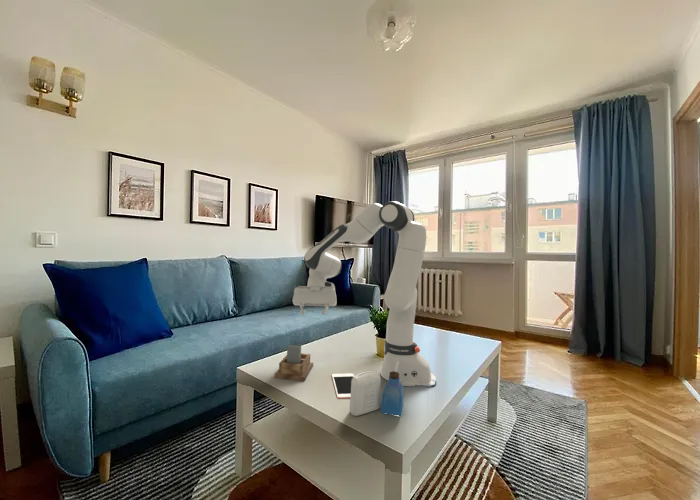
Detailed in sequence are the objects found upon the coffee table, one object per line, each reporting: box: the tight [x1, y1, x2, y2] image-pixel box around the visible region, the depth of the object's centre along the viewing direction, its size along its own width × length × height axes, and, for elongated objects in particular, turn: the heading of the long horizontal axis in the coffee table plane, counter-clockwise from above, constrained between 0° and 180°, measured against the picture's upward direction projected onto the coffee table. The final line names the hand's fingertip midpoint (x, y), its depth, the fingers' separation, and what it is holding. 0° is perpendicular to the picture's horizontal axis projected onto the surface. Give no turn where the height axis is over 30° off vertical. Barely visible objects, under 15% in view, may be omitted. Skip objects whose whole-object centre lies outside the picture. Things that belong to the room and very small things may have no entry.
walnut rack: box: [274, 352, 314, 382], centre depth 118 cm, size 12×14×6 cm
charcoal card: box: [286, 344, 302, 364], centre depth 115 cm, size 5×2×10 cm, turn 84°
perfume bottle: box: [380, 371, 405, 417], centre depth 94 cm, size 6×6×12 cm
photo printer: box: [349, 370, 382, 417], centre depth 93 cm, size 10×4×12 cm, turn 123°
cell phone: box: [331, 373, 355, 400], centre depth 109 cm, size 9×18×1 cm, turn 10°
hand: (313, 314), depth 129 cm, fingers open, 8 cm apart
